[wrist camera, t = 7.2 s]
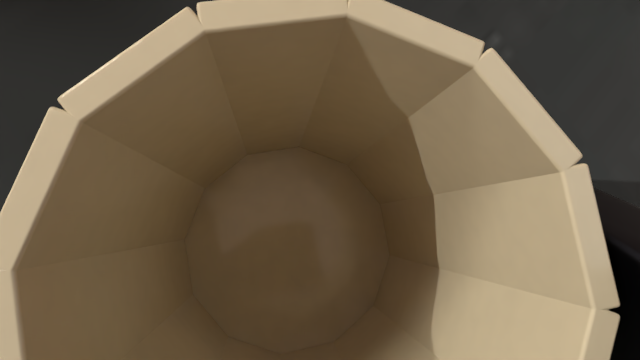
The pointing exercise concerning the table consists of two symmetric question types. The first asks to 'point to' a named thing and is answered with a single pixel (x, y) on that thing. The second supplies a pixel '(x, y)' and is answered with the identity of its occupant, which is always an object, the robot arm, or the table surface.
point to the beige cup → (304, 201)
